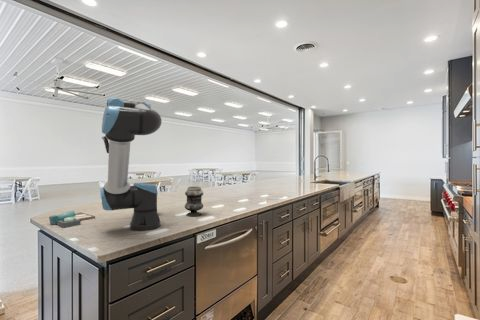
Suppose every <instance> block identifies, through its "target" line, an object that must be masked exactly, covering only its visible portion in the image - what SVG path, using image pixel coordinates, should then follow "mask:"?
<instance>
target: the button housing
mask: <svg viewBox="0 0 480 320" xmlns="http://www.w3.org/2000/svg"><path fill="white" fill-rule="evenodd" d="M56 225H57V227H60V228H63V229H65V228H70V227H74V226H76V227H77V226H79V225H81V221H80V220H79V219H76V218H74V221H70V222H64V220H60V221H57V224H56Z"/></svg>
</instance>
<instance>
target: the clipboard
mask: <svg viewBox="0 0 480 320" xmlns="http://www.w3.org/2000/svg"><path fill="white" fill-rule="evenodd" d="M75 214H76V216H75V217H74V218H76V219H79V220H80V222H81V221H87V220H92V219H96V216H95V215H92V214H88V213H85V212H75Z"/></svg>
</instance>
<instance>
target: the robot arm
mask: <svg viewBox="0 0 480 320" xmlns="http://www.w3.org/2000/svg"><path fill="white" fill-rule="evenodd" d="M161 126H162V117H161V115H160V114H159V112H157V111H156V110H154V109H152V107H151V104H150V103H149V102H144V101H143V102H142V101H131V100H125V99H121V98H118V97H113V98H108V99H107V100H106V107H105V108H104V111H103V117H102V124H101V133H102V134H104V136H101V139H102V140H103V143H104V146H105V151H106V153H107V154H108V162H107V164H108V165H107V181H106V182H105V183H104V186H103V187H101V188H100V200H101V205H102V210H104V211H117V210H118V211H120V210H129V209H133V214H132V217H131V221H130V223H129V228H130V230H133V231H150V230H153V229H154V230H155V229H158V228H159V227H160V226H161V220H160V216H159V213H158V193H157V192H158V186H156V184H153V183H146V182H134V183H133V185H131V184H130V182H129V181H128V178H129V165H130V154H131V152H130V151H131V143H132V142H133V141H134V140H135V138H136V137H135V136H147V135H151V134H155V132H157V131H158V130H159V129H160V128H161Z"/></svg>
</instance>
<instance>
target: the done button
mask: <svg viewBox="0 0 480 320" xmlns="http://www.w3.org/2000/svg"><path fill="white" fill-rule="evenodd" d="M70 221H74V217H67V218H64V222H70Z"/></svg>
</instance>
